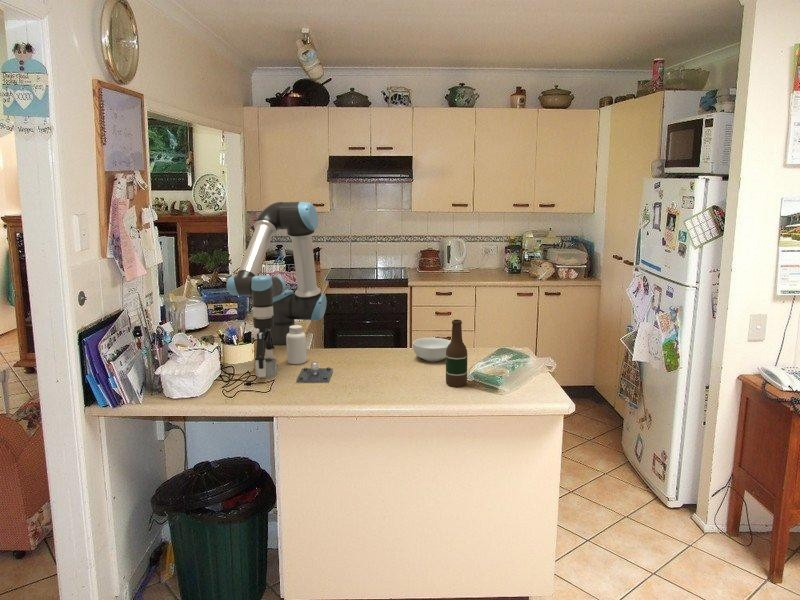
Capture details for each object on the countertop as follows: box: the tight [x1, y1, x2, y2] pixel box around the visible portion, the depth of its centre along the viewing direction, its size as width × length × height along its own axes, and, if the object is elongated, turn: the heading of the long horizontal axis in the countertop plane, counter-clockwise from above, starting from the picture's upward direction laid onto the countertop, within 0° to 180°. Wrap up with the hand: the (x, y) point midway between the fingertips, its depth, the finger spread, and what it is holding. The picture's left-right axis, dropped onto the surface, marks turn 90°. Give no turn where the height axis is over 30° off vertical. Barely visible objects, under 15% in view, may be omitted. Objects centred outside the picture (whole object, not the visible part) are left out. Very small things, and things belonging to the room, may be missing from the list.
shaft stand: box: [296, 361, 334, 384], centre depth 241 cm, size 14×12×6 cm
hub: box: [254, 356, 278, 379], centre depth 243 cm, size 8×8×6 cm
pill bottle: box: [286, 324, 308, 365], centre depth 259 cm, size 8×8×15 cm
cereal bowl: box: [412, 337, 451, 362], centre depth 262 cm, size 17×17×7 cm
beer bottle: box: [445, 319, 468, 388], centre depth 229 cm, size 8×8×24 cm
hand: (266, 371), depth 243 cm, fingers open, 13 cm apart
